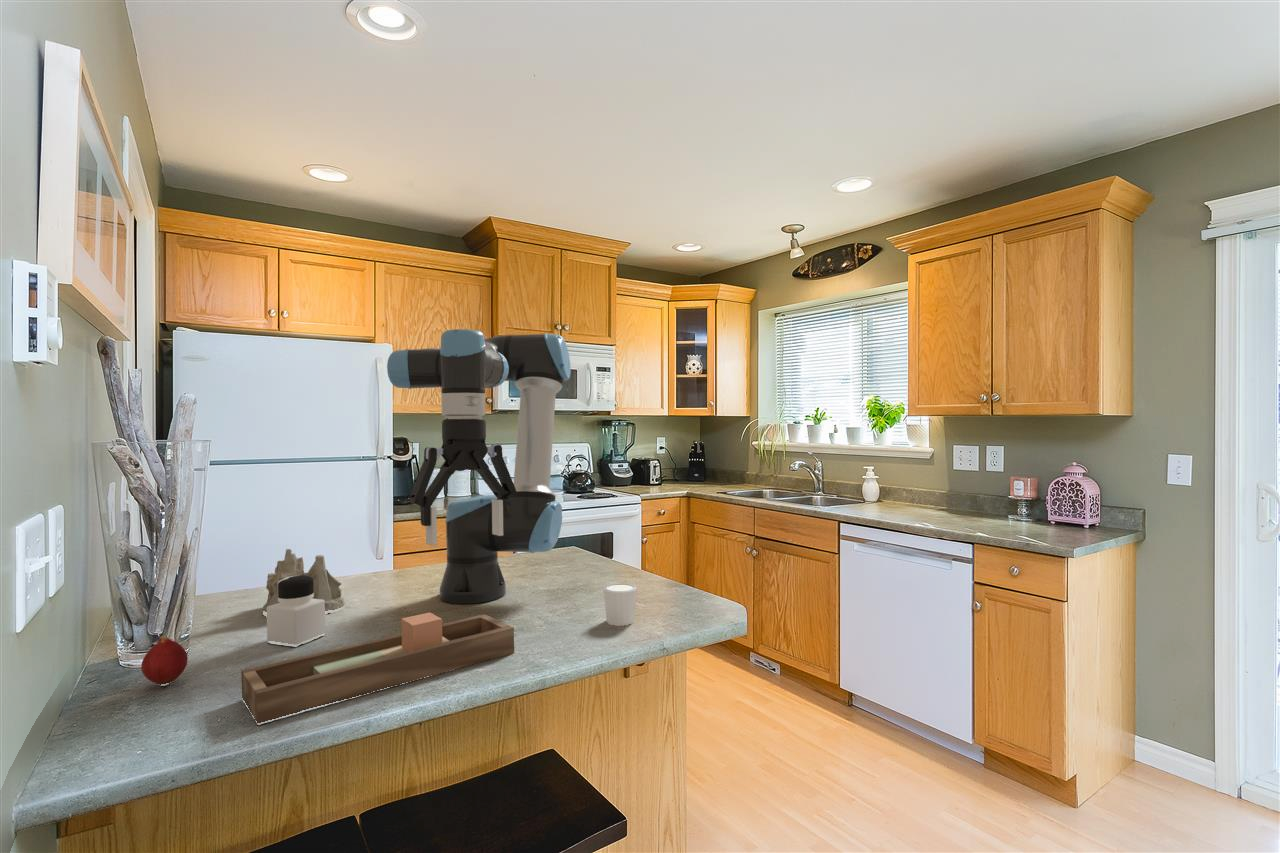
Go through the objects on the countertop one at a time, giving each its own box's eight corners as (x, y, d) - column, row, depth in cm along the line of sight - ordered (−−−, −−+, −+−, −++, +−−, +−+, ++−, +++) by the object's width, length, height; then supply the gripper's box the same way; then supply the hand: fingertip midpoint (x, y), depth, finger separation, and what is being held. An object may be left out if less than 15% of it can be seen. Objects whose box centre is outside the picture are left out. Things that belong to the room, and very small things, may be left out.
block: (401, 647, 109) (401, 618, 109) (430, 640, 113) (429, 612, 112) (413, 655, 105) (412, 625, 105) (442, 648, 109) (442, 618, 109)
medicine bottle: (326, 635, 125) (325, 574, 125) (295, 648, 118) (294, 583, 118) (298, 632, 127) (296, 571, 127) (266, 644, 120) (265, 580, 120)
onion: (158, 679, 105) (157, 630, 104) (195, 677, 105) (194, 629, 105) (133, 694, 99) (132, 642, 99) (173, 692, 99) (171, 641, 99)
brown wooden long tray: (241, 700, 96) (241, 670, 96) (484, 637, 123) (484, 613, 123) (257, 726, 88) (256, 693, 88) (514, 652, 114) (513, 627, 114)
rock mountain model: (347, 612, 140) (342, 543, 140) (259, 627, 132) (254, 554, 132) (343, 599, 153) (339, 536, 154) (264, 612, 146) (260, 545, 146)
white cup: (633, 627, 127) (632, 592, 127) (599, 626, 129) (599, 591, 129) (640, 617, 134) (639, 583, 134) (608, 615, 135) (607, 582, 135)
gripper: (404, 418, 103) (406, 552, 103) (534, 417, 119) (535, 533, 119) (387, 418, 108) (389, 546, 109) (513, 417, 125) (514, 528, 125)
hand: (465, 539), depth 114 cm, fingers open, 12 cm apart
